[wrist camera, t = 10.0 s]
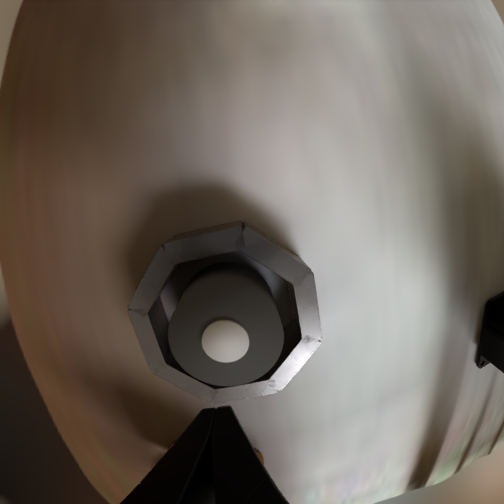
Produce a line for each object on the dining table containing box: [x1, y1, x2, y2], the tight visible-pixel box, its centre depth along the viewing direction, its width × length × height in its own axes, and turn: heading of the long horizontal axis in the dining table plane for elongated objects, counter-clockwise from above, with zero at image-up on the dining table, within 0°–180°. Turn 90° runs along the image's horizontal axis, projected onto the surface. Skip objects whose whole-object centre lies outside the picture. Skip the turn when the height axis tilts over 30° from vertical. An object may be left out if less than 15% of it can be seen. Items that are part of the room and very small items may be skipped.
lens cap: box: [168, 262, 284, 386], centre depth 14 cm, size 5×5×4 cm
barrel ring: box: [128, 221, 322, 404], centre depth 15 cm, size 9×9×2 cm
